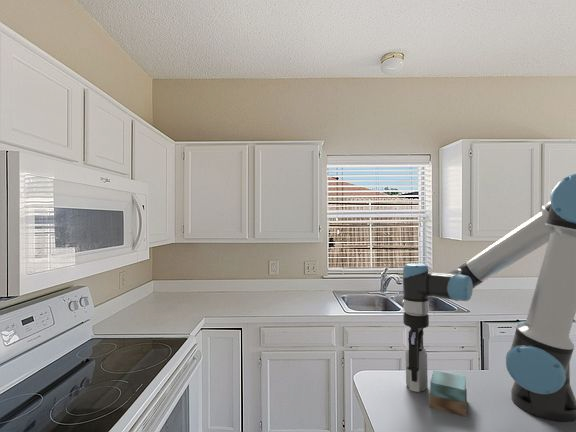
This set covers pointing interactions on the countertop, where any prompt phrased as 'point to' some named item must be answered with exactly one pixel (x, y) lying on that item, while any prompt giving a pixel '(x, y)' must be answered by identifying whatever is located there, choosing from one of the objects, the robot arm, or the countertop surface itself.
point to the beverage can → (421, 367)
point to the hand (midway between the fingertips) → (416, 385)
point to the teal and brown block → (448, 393)
